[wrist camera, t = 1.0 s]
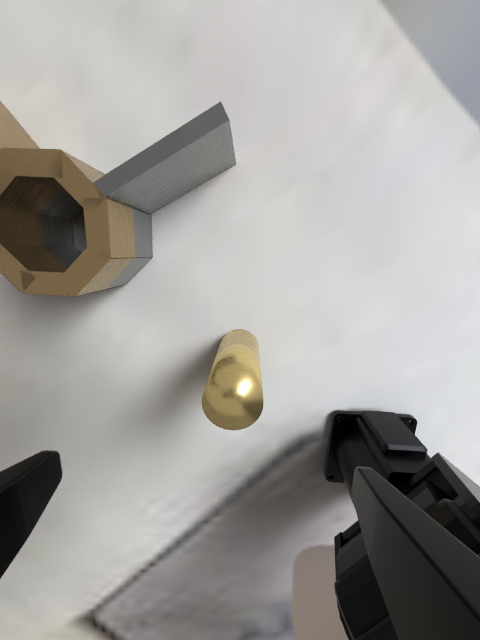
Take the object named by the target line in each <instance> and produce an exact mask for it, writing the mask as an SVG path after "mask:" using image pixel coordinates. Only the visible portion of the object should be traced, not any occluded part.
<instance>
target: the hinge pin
mask: <svg viewBox="0 0 480 640" xmlns="http://www.w3.org/2000/svg"><path fill="white" fill-rule="evenodd" d="M202 407H203V410H204V413H205V415H206V416H207V418H208V419H209V420H210V421H211V422H212V423H213V424H215V425H216V426H218V427H220V428H223V429H227V430H240V429H244V428H246V427H248V426H250V425H252V424H253V423H254V422H255V421H256V420H257V419H258V418H259V416H260V415H261V413H262V409H263V393H262V381H261V370H260V358H259V347H258V342H257V340H256V338H255V337H254V336H253V335H252V334H251V333H250V332H248V331H245V330H241V329H237V330H232V331H230V332H228V333H227V334H226V335H225V336H224V337H223V338H222V340H221V343H220V346H219V349H218V352H217V355H216V358H215V360H214V363H213V366H212V369H211V372H210V375H209V378H208V381H207V384H206V387H205V390H204V393H203V397H202Z"/></svg>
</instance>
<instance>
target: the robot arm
mask: <svg viewBox="0 0 480 640" xmlns="http://www.w3.org/2000/svg"><path fill="white" fill-rule="evenodd" d="M339 416H342V417H341V418H340V419H337V417H339ZM410 420H411V421H410ZM408 421H410V422H409V423H407V422H408ZM416 426H417V421H416V419H415V418H414V417H413V416H412V415H406V414H395V413H393V412H377V411H362V412H355V411H335V412H334V413H333V415H332V421H331V428H330V435H329V442H328V449H327V456H326V463H325V470H324V475H325V478H326V480H327V481H330V482H342V483H345V485H346V487H347V490H348V492H349V494H350V497H351V499H352V502H353V504H354V507H355V509H356V513H357V516H358V521H357V522H355V523H354V524H353V525H352V526H351V527H349V528H348V529H347V530H346V531H344V532H343V533H342V532H340V533H339V534H338V535H336V536H335V537H334V542H335V567H336V582H335V584H334V585H335V594H336V597H337V604H338V610H339V614H340V619H341V621H342V623H343V626H344V629H345V631H346V634H347V636H348V638H349V640H480V487H479V486H478V485H477V484H476V483H474V482H473V481H472V480H471V479H470V478H468V477H467V476H466V475H465V474H464V473H462V472H461V471H460V470H459V469H457V468H456V467H455V466H454V465H453V464H451V463H450V462H449V461H448V460H447V459H445V458H444V457H443V456H442V455H441V454H439V453H437V454H435V455H434V456H433V457H432V458H430V457H429V456H428V454H427V448H426V447H425V446H424V445H423V444H422V443H421V442H420V441H419V439H418V438H417V437H416V436H415V430H416ZM330 474H333V475H331V476H329V475H330ZM61 479H62V467H61V460H60V454H59V453H58V452H57V451H49V450H45V451H41V452H39V453H37V454H35V455H33V456H31V457H29V458H27V459H25V460H23V461H21V462H19V463H17V464H15V465H13V466H11V467H9V468H7V469H5V470H3V471H1V472H0V578H1V577H2V576H3V574H4V573H5V571H6V570H7V568H8V567H9V565H10V564H11V562H12V561H13V559H14V558H15V556H16V555H17V554H18V552H19V551H20V549H21V548H22V546H23V545H24V543H25V541H26V540H27V538H28V537H29V535H30V534H31V532H32V530H33V529H34V527H35V525H36V523H37V522H38V520H39V518H40V516H41V515H42V513H43V511H44V509H45V508H46V506H47V504H48V502H49V501H50V499H51V497H52V496H53V494H54V492H55V490H56V489H57V487H58V485H59V483H60V481H61Z"/></svg>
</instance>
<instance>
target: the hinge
mask: <svg viewBox="0 0 480 640" xmlns="http://www.w3.org/2000/svg"><path fill="white" fill-rule="evenodd" d="M235 164H236V160H235V153H234V147H233V140H232V134H231V128H230V121H229V118H228V116H227V114H226V112H225V110H224V107H223V105H222V103H221V102H219V103H218V104H216V105H214V106H213V107H211V108H210V109H208V110H207V111H205V112H203V113H202V114H200V115H199V116H197V117H196V118H194V119H192V120H191V121H189V122H188V123H186V124H185V125H183V126H181V127H180V128H178V129H177V130H175V131H173V132H172V133H170V134H169V135H167V136H166V137H164V138H162V139H161V140H159V141H158V142H156V143H155V144H153V145H151V146H150V147H148V148H147V149H145V150H143V151H142V152H140V153H139V154H137V155H136V156H134V157H132V158H131V159H129V160H128V161H126V162H125V163H123V164H121V165H120V166H118V167H117V168H115V169H113V170H112V171H110V172H109V173H107V174H104V173H102V172H100V171H99V170H97V169H95V168H93V167H91V166H89V165H88V164H86V163H84V162H82V161H80V160H79V159H77V158H75V157H73V156H71V155H70V154H68V153H66V152H64V151H62V150H58V149H40V148H39V147H38V146H37V145H36V144H35V142H34V141H33V140H32V139H31V137H30V136H29V135H28V134H27V133H26V131H25V130H24V129H23V128H22V127H21V125H20V124H19V123H18V122H17V121H16V119H15V118H14V117H13V116H12V115H11V113H10V112H9V111H8V110H7V109H6V107H5V106H4V105H3V104H2V103H1V101H0V273H1V274H3V275H4V276H5V277H6V278H7V279H8V280H9V281H10V282H11V283H12V284H13V285H14V286H15V287H17V288H18V289H19V290H20V291H21V292H22V293H24V294H43V295H63V296H78V295H82V294H86V293H91V292H95V291H99V290H103V289H107V288H112V287H116V286H120V285H124V284H127V283H128V282H129V281H130V280H131V279H132V278H133V277H134V276H135V275H136V274H137V273H138V272H139V271H140V270H141V269H142V268H143V267H144V266H145V265H146V264H147V263H148V262H149V261H150V260H151V258H152V257H153V253H152V223H151V215H150V214H152V213H153V212H155V211H157V210H159V209H160V208H162V207H164V206H165V205H167V204H169V203H170V202H172V201H174V200H175V199H177V198H179V197H181V196H182V195H184V194H186V193H187V192H189V191H191V190H192V189H194V188H196V187H197V186H199V185H201V184H203V183H204V182H206V181H208V180H209V179H211V178H213V177H214V176H216V175H218V174H219V173H221V172H223V171H225V170H226V169H228V168H230V167H231V166H233V165H235ZM82 207H83V208H84V220H85V231H86V242H87V248H86V249H85V250H84V251H83V252H82V254H81V253H80V252H79V251H78V250H77V249H76V248H75V247H74V236H73V226H72V219H73V218H74V216H75V215H76V214H77V213H78V212H79V211H80V209H81V208H82Z"/></svg>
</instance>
